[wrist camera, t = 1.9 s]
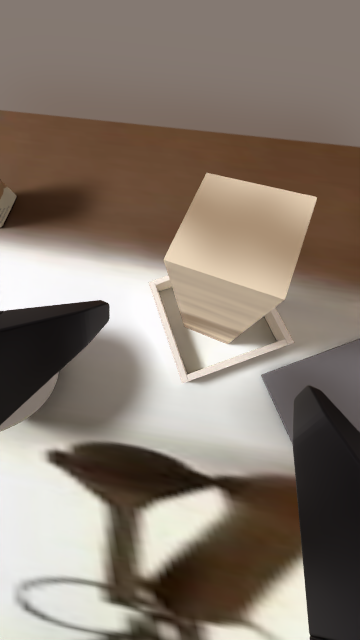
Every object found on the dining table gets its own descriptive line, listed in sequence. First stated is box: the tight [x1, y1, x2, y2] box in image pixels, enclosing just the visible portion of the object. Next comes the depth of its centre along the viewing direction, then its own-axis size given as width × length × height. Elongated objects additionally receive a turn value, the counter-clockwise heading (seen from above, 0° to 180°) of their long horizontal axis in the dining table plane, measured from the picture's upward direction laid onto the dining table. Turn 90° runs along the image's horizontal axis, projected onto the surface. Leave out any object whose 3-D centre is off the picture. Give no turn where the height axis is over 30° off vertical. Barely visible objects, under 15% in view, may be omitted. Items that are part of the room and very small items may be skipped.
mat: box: [261, 339, 360, 444], centre depth 16 cm, size 11×11×1 cm
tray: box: [149, 275, 294, 383], centre depth 19 cm, size 11×11×2 cm
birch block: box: [164, 173, 317, 344], centre depth 14 cm, size 5×5×13 cm
